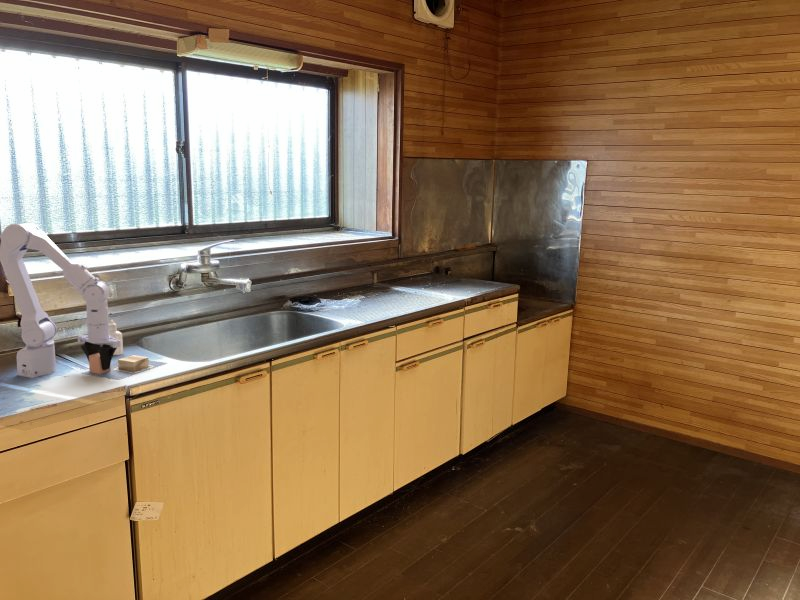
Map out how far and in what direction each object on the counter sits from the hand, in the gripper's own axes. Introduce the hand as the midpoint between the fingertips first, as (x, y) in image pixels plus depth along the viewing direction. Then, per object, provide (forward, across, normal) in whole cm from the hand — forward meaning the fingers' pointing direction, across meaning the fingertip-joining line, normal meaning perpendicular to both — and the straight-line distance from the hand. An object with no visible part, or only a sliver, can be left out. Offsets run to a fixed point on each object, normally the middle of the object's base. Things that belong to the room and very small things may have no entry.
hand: (100, 368), depth 189 cm
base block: (+1, -6, -7) cm, 9 cm away
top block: (+1, 0, 0) cm, 1 cm away
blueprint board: (+2, -4, -6) cm, 7 cm away
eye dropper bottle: (+2, +12, -17) cm, 21 cm away
